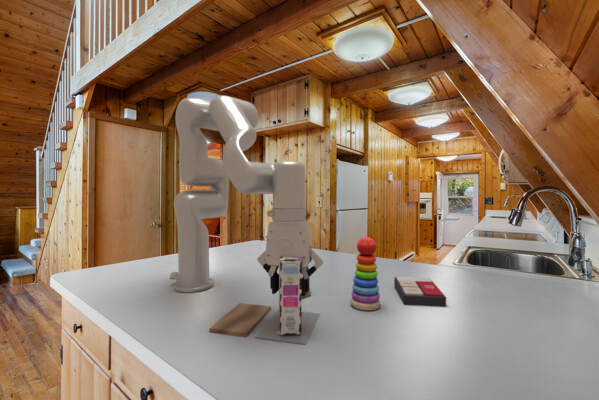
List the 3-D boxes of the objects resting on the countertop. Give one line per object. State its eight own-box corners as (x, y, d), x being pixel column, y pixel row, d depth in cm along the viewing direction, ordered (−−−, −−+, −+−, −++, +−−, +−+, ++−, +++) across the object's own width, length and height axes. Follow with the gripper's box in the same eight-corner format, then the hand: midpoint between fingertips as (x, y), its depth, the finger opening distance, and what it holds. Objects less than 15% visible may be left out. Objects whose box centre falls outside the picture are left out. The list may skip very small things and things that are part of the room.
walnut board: (209, 331, 65) (209, 328, 64) (239, 306, 79) (239, 303, 79) (246, 336, 62) (246, 333, 62) (270, 309, 77) (270, 306, 77)
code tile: (255, 338, 62) (255, 337, 62) (278, 310, 76) (278, 309, 76) (305, 344, 59) (305, 343, 59) (319, 314, 73) (319, 313, 73)
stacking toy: (347, 309, 77) (347, 238, 76) (353, 298, 84) (353, 234, 83) (378, 313, 74) (378, 240, 73) (381, 302, 81) (382, 235, 81)
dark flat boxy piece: (403, 293, 79) (394, 274, 94) (403, 308, 79) (394, 287, 94) (446, 294, 77) (430, 275, 92) (446, 310, 78) (429, 288, 93)
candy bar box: (303, 335, 62) (302, 259, 62) (279, 336, 62) (279, 260, 61) (298, 313, 73) (298, 249, 73) (278, 314, 73) (278, 249, 72)
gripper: (247, 216, 65) (248, 295, 66) (323, 218, 61) (323, 302, 62) (260, 214, 73) (261, 285, 73) (329, 215, 68) (329, 291, 69)
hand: (289, 292), depth 67 cm, fingers closed on candy bar box, 6 cm apart
